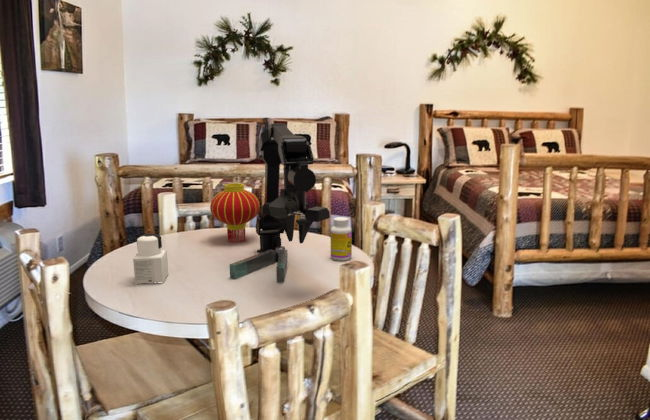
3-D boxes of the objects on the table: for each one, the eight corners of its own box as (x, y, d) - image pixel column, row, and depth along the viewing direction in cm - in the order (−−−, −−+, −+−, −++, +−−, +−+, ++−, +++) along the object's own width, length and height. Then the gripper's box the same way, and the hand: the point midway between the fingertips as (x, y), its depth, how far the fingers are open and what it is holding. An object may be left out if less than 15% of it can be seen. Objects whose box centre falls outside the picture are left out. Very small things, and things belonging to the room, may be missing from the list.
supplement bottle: (349, 261, 172) (349, 221, 169) (328, 260, 173) (328, 220, 171) (353, 255, 178) (353, 216, 176) (332, 254, 180) (332, 215, 177)
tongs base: (230, 277, 158) (229, 262, 157) (277, 259, 176) (277, 245, 175) (239, 280, 156) (239, 265, 155) (287, 261, 173) (287, 247, 173)
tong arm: (276, 282, 153) (276, 268, 153) (281, 262, 171) (280, 249, 170) (284, 282, 154) (283, 268, 153) (287, 262, 171) (287, 249, 170)
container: (141, 275, 161) (138, 232, 158) (168, 274, 162) (165, 231, 159) (135, 284, 154) (131, 239, 151) (163, 283, 154) (160, 238, 151)
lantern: (201, 242, 196) (196, 157, 190) (236, 232, 210) (232, 152, 203) (237, 249, 186) (233, 160, 180) (270, 238, 200) (268, 155, 194)
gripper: (247, 186, 145) (249, 244, 149) (305, 193, 135) (306, 254, 138) (274, 180, 154) (276, 235, 158) (330, 186, 144) (331, 244, 147)
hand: (295, 242), depth 150 cm, fingers open, 3 cm apart
